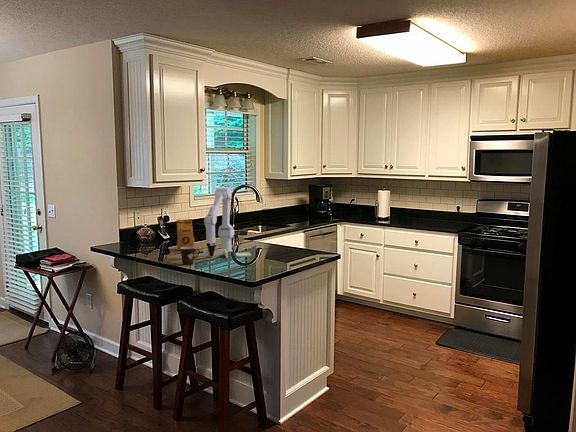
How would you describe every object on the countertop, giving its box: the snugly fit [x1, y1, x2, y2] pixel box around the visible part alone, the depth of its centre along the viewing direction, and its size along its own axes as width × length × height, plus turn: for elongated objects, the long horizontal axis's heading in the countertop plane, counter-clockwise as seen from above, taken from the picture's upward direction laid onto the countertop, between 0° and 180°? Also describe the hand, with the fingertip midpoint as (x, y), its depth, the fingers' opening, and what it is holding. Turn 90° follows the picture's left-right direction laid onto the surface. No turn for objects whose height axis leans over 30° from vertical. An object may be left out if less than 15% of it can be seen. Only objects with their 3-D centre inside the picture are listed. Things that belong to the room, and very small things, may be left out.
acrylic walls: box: [203, 249, 229, 259], centre depth 305 cm, size 13×14×4 cm
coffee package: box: [175, 218, 196, 251], centre depth 331 cm, size 10×12×22 cm
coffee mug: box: [179, 247, 201, 266], centre depth 284 cm, size 12×9×10 cm
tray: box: [235, 251, 252, 258], centre depth 310 cm, size 9×9×1 cm
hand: (211, 254), depth 305 cm, fingers open, 6 cm apart
